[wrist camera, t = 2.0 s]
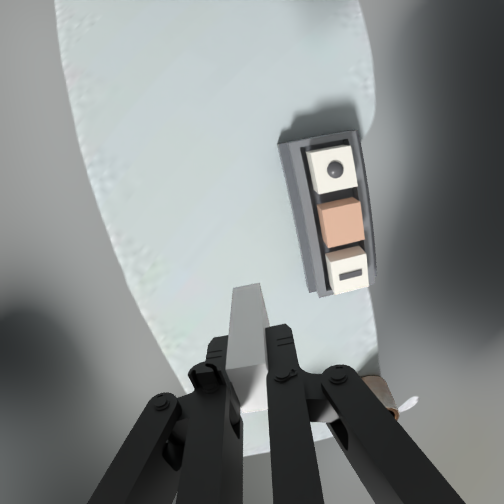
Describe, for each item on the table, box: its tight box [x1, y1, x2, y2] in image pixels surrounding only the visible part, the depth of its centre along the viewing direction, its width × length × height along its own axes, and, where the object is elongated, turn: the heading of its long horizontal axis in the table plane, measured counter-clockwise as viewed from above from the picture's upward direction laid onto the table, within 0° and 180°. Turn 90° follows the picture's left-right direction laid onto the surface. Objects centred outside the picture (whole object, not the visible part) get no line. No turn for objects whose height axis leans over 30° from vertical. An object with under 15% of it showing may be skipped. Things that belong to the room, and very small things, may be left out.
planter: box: [362, 376, 399, 420], centre depth 52 cm, size 11×11×10 cm
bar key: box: [325, 245, 369, 295], centre depth 40 cm, size 5×5×3 cm
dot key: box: [306, 145, 358, 194], centre depth 35 cm, size 5×5×3 cm
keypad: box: [277, 130, 377, 298], centre depth 41 cm, size 22×11×4 cm, turn 14°
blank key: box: [317, 197, 365, 248], centre depth 38 cm, size 5×5×3 cm
